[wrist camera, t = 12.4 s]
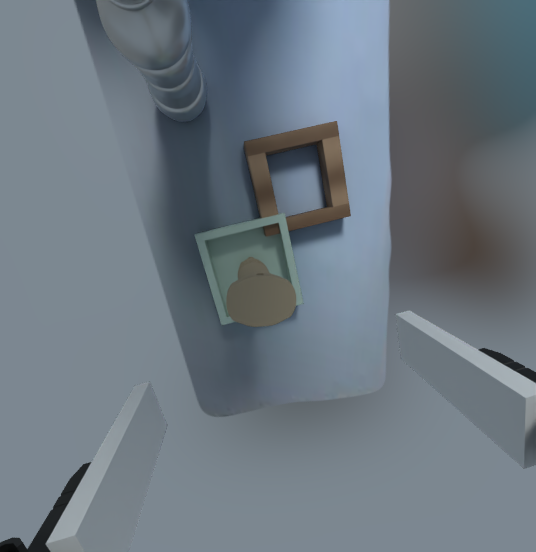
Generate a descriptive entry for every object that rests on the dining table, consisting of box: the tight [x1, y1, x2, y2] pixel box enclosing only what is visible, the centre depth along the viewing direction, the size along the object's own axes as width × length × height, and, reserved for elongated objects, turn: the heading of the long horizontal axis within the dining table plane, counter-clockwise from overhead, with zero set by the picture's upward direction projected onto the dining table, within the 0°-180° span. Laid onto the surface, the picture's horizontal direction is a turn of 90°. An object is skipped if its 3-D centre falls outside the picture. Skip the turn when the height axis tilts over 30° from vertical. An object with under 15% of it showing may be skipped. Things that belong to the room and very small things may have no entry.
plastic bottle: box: [96, 0, 207, 122], centre depth 24 cm, size 6×7×20 cm
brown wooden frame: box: [244, 121, 351, 237], centre depth 36 cm, size 12×12×2 cm
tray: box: [195, 213, 303, 325], centre depth 38 cm, size 13×12×3 cm
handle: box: [226, 257, 296, 327], centre depth 32 cm, size 5×6×15 cm
